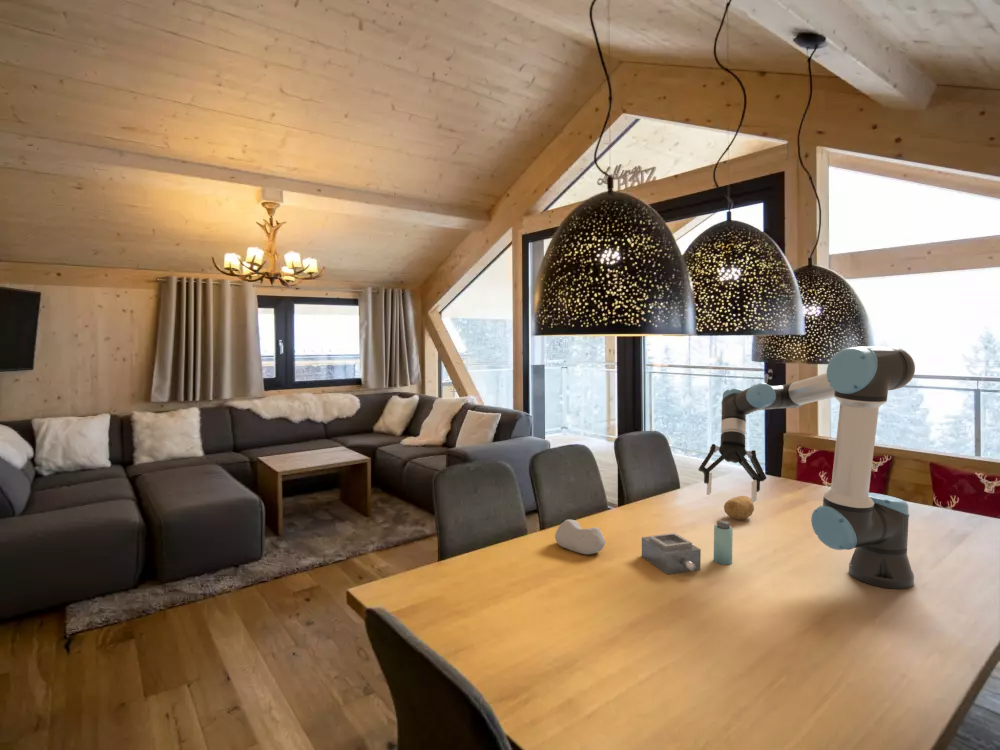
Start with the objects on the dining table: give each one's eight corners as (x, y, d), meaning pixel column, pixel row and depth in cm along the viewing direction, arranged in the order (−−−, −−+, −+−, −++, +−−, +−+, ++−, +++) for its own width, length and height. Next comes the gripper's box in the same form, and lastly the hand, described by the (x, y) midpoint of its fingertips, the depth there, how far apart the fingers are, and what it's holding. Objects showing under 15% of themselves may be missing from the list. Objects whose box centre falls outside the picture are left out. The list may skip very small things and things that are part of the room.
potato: (760, 516, 213) (760, 495, 212) (745, 525, 203) (745, 503, 202) (733, 511, 220) (734, 490, 219) (718, 520, 210) (718, 498, 209)
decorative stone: (546, 538, 185) (559, 510, 188) (562, 548, 191) (575, 521, 194) (586, 557, 172) (600, 527, 175) (603, 568, 178) (616, 538, 181)
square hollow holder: (709, 575, 162) (709, 550, 162) (675, 580, 159) (675, 554, 159) (669, 549, 181) (669, 527, 181) (638, 554, 178) (638, 531, 178)
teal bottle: (735, 563, 170) (736, 524, 169) (721, 565, 168) (721, 526, 168) (724, 557, 175) (725, 518, 174) (709, 559, 173) (710, 520, 173)
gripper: (769, 444, 190) (769, 507, 181) (691, 432, 194) (687, 493, 185) (776, 436, 183) (777, 501, 174) (696, 424, 187) (692, 487, 178)
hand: (731, 497), depth 179 cm, fingers open, 13 cm apart
